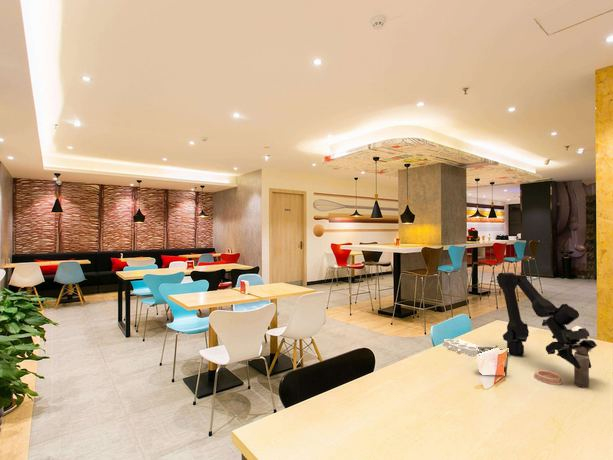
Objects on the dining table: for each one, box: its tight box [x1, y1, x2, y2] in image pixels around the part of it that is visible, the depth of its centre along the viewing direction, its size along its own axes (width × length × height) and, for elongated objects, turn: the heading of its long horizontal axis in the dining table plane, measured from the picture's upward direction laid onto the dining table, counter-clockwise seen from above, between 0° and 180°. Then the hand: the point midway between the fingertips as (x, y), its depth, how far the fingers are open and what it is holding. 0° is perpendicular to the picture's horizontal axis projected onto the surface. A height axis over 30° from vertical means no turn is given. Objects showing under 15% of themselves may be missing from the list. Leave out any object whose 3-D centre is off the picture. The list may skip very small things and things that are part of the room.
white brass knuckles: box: [443, 338, 482, 357], centre depth 169 cm, size 3×18×15 cm
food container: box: [478, 346, 511, 377], centre depth 142 cm, size 12×6×10 cm, turn 84°
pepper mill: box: [573, 346, 590, 388], centre depth 130 cm, size 4×4×15 cm
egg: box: [571, 325, 589, 347], centre depth 170 cm, size 7×7×12 cm
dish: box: [533, 369, 564, 386], centre depth 136 cm, size 10×10×2 cm
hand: (584, 368), depth 129 cm, fingers closed on pepper mill, 4 cm apart
